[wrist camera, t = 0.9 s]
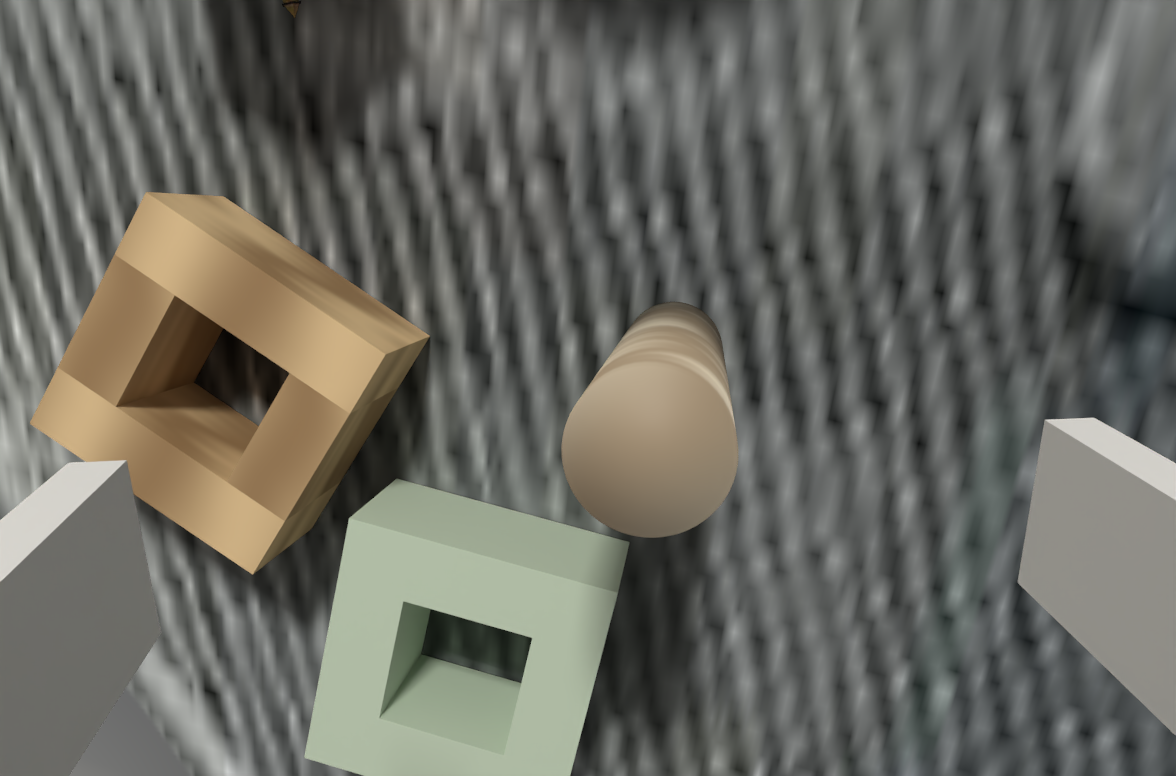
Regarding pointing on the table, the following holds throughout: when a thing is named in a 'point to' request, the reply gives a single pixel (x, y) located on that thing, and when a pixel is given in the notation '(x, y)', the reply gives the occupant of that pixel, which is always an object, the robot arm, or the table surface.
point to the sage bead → (471, 591)
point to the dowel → (655, 427)
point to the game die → (291, 6)
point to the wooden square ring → (197, 418)
